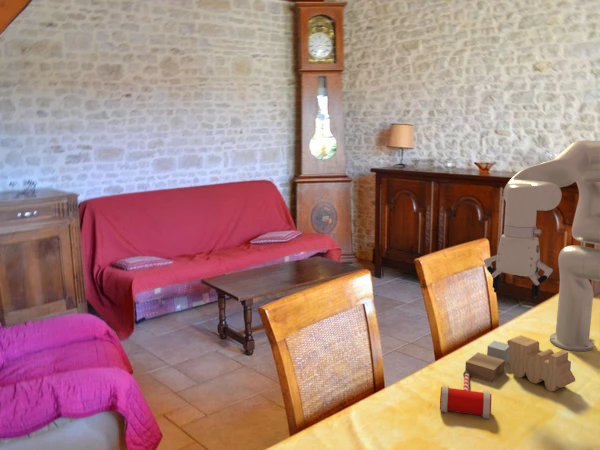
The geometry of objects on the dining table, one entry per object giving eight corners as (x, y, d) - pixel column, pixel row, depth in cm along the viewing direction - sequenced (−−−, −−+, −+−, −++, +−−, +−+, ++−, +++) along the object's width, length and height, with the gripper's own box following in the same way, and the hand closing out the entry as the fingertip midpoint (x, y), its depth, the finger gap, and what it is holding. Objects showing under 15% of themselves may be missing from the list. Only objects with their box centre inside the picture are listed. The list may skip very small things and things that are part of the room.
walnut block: (477, 365, 158) (477, 352, 157) (504, 373, 153) (505, 360, 152) (465, 374, 152) (465, 361, 151) (492, 383, 147) (493, 370, 146)
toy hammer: (444, 374, 153) (445, 353, 152) (488, 380, 149) (489, 358, 148) (439, 416, 131) (440, 392, 130) (490, 424, 128) (491, 399, 127)
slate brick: (493, 356, 163) (494, 340, 162) (509, 360, 160) (510, 345, 159) (486, 361, 160) (487, 346, 159) (503, 366, 156) (504, 350, 155)
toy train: (562, 396, 139) (565, 360, 137) (505, 371, 153) (507, 338, 151) (574, 390, 142) (577, 355, 140) (517, 366, 156) (519, 334, 154)
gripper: (559, 233, 138) (553, 297, 141) (491, 225, 148) (488, 285, 152) (550, 238, 132) (545, 305, 135) (481, 230, 143) (477, 292, 146)
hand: (515, 294), depth 144 cm, fingers open, 9 cm apart
